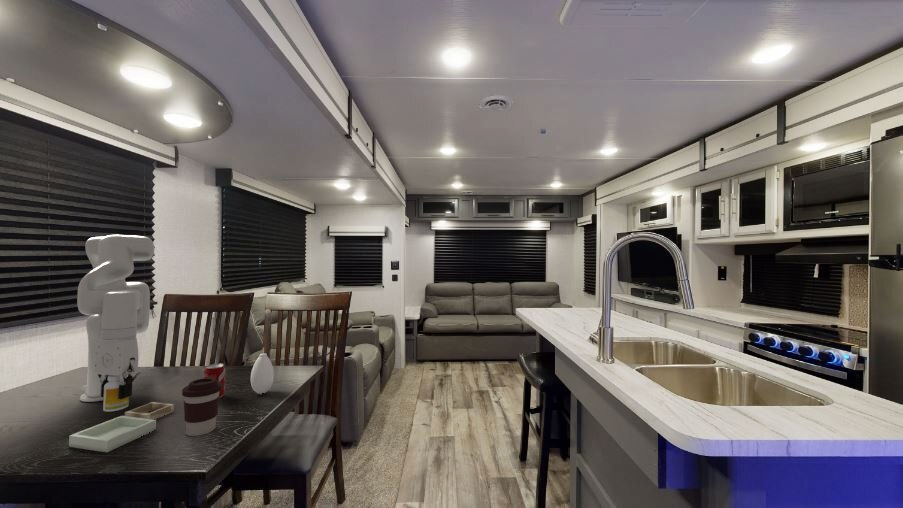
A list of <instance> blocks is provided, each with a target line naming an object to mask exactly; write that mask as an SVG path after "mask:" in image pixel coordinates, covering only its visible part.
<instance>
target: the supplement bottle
mask: <svg viewBox="0 0 903 508" xmlns="http://www.w3.org/2000/svg"><path fill="white" fill-rule="evenodd" d="M127 377H128V375H125V379H126V378H127ZM108 381H109V382H108V383H106V384H105V386H104V399H103V400H102V401H103V403H102V404H103V405H102V411H103V412H115V411H120V410H123V409H126V408H128V407H129V403H130V396H129V397H126V398H123V399H118V393H119V385H121V382H120V377H119V376H112V375H108Z"/></svg>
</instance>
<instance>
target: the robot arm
mask: <svg viewBox="0 0 903 508" xmlns="http://www.w3.org/2000/svg"><path fill="white" fill-rule="evenodd" d="M85 253H86V256H87V258H88V260H89V262H90V264H91V266H92V270H90V271H88V273H86V274H85V275H84V276H83V277H82V278H81V280H80V281H79V284H78V287H77V300H76V301H77V302H76V303H77V308H78V311H79V313H81V314H82V315H85V316H88V317H87V318H86V321H85V322H86V323H85V325H86V326H85V327H86V332H87V334H86V335H87V340H88V342H87V344H88V345H87V346H88V348H87V349H88V354H87V374H86V375H87V376H86V384H85V385H82V386H81V390H84V391H85V392H84V393H83V394H81V395H80V397H79V400H80V401H81V402H84V403H86V402H88V403H91V402H92V403H93V402H102V401H103V399H104V386H105V384H106V383H108V382H109V381H108V375H112V376H119V377H120V382H121V385H119V393H118V399H123V398H126V397H129V398H130V397H131V396H132V395H133V383H134V382H135V380H136V378H137V377H138V376H139V375H141V373H142V371H141V369H140V367H139V346H138V338H137V335H138V334H143V333H145V332H146V331H147V330H148V329H149V325H150V323H149V322H150V309H151V308H150V305H151V303H150V302H151V301H150V300H151V292H150V288H149V285H148V284H147V283H145V282H141V281H126V278H128V277H130V276H131V275H132V274H133V272H134V270H135V266H134V262H135V261H138V262H139V261H140V262H141V261H142V262H144V261H145V262H146V261H149V260H152V258H153V257H154V254H155V244H154V242H153V240H152V239H151V238H150V237H148V236H141V235H126V234H125V235H124V234H110V235H106V236H95V237H90V238H88V239H87V240H86V242H85ZM125 375H127V378H126V379H125Z"/></svg>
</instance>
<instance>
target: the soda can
mask: <svg viewBox="0 0 903 508" xmlns="http://www.w3.org/2000/svg"><path fill="white" fill-rule="evenodd" d="M203 378H214V379H216V380H217V382H220V383H222V389H221V390H220V391H219V395H220V397H219V399H221V398H223V396H225V394H226V393H225V392H226V390H225V388H226V367H224V363H213V364H209V365H208V364H207V365H206V366H205V370H204V371H203Z"/></svg>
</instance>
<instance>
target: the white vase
mask: <svg viewBox="0 0 903 508" xmlns="http://www.w3.org/2000/svg"><path fill="white" fill-rule="evenodd" d="M267 354H268V353H265V348H264V347H262V353H260V354H259V356H258V357H257V359H256V360H255V362H254V364H253V367H252V369H251V372H250V385H251V388H252V390H253V391H254V392H255V393H256V394H258V395H263V394H262V393H264V394H265V393H267V392H268V391H270V389H271V387H272V385H273V383H274V377H275V372H274V367H273V363H272V361H271V358H270V357H268V355H267Z"/></svg>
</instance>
